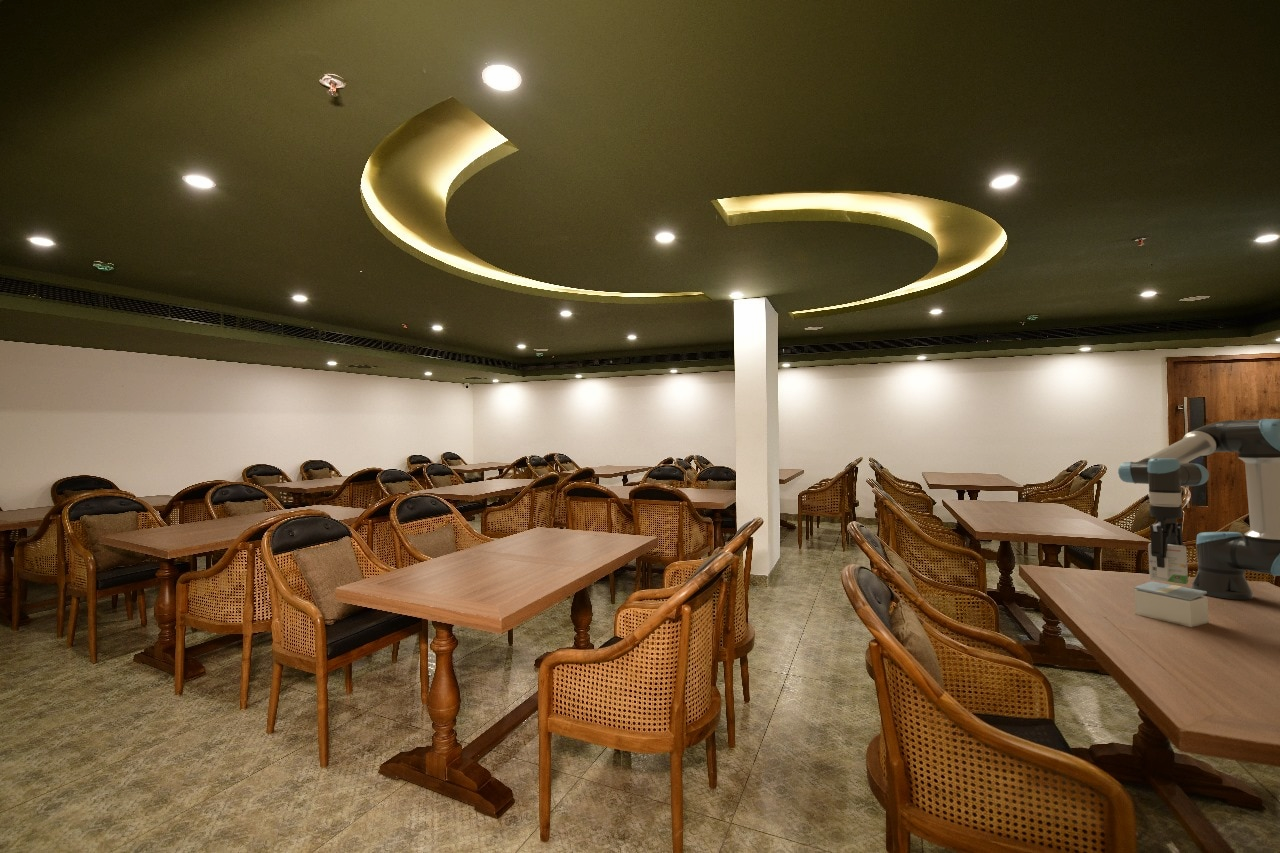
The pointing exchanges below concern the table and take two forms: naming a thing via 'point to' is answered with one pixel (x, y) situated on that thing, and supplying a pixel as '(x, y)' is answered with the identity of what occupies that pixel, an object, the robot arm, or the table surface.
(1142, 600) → the carton
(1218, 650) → the table surface
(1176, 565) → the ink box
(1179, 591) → the lid
